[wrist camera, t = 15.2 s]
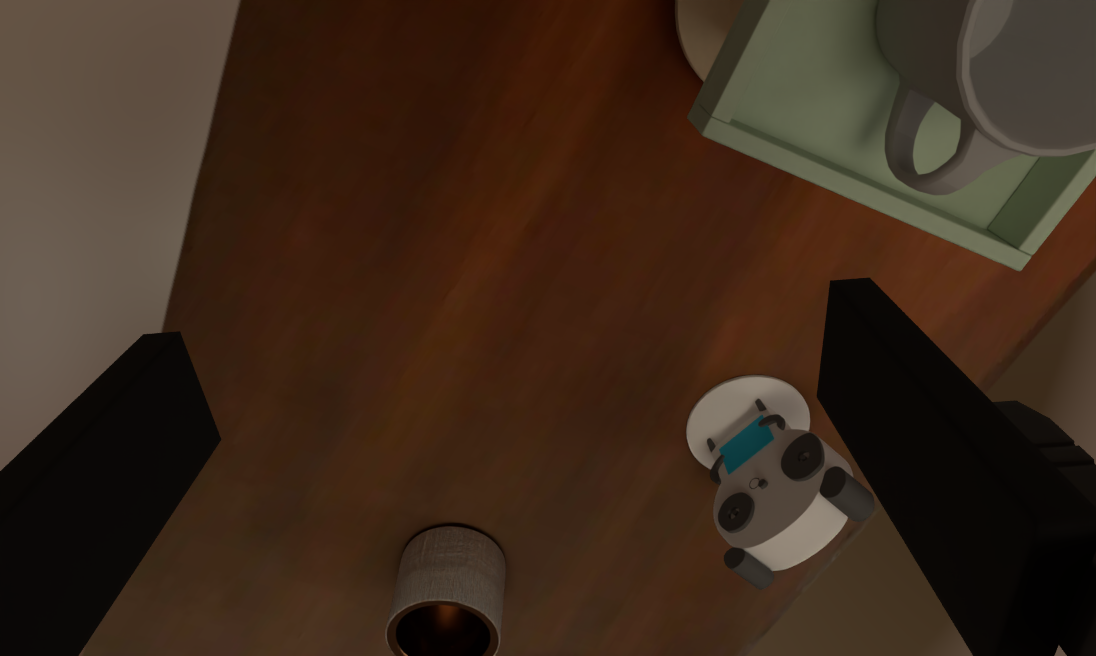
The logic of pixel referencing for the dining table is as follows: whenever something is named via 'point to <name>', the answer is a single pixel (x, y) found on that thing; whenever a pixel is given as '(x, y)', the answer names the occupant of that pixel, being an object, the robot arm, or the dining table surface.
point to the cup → (989, 81)
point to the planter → (448, 595)
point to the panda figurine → (771, 476)
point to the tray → (857, 122)
